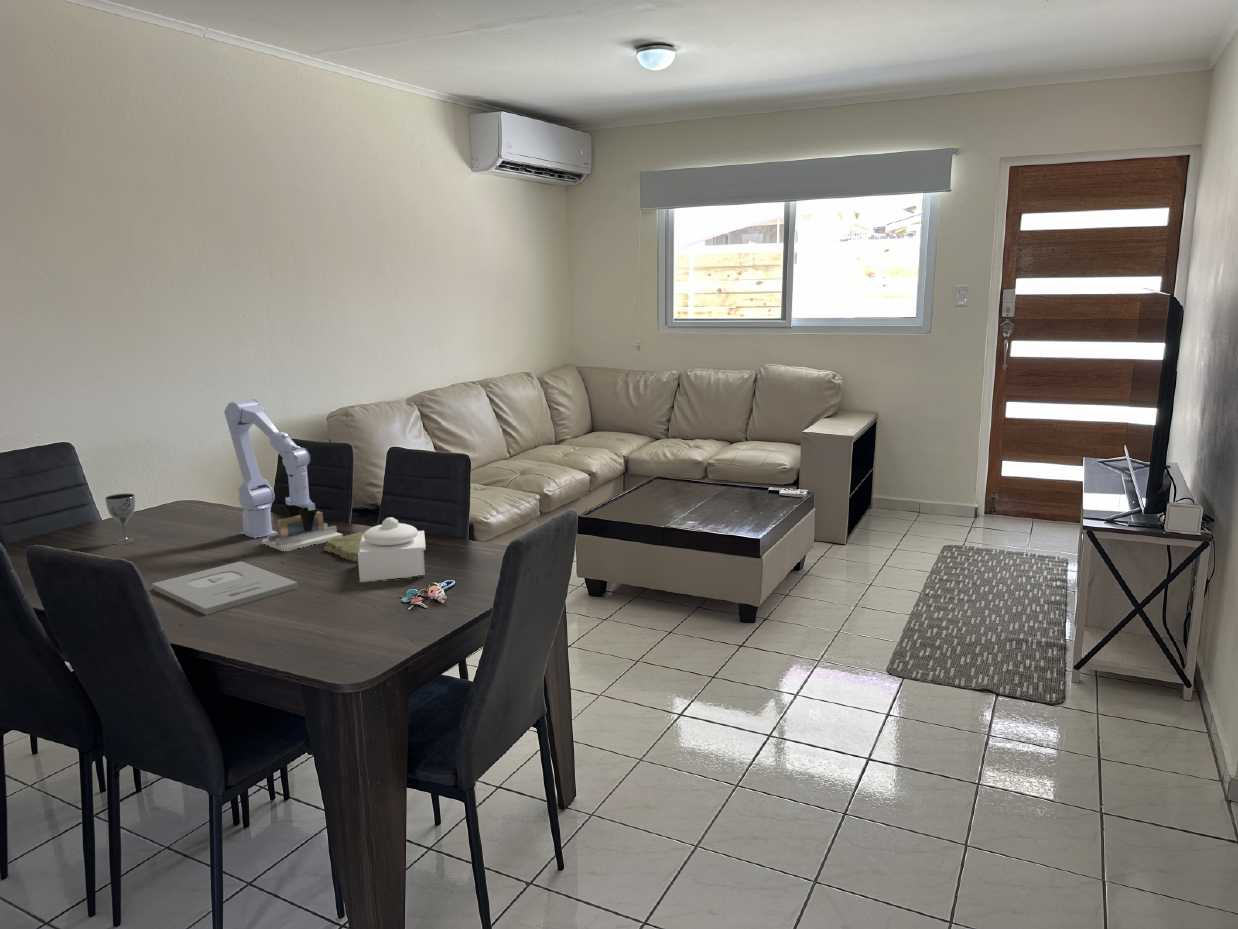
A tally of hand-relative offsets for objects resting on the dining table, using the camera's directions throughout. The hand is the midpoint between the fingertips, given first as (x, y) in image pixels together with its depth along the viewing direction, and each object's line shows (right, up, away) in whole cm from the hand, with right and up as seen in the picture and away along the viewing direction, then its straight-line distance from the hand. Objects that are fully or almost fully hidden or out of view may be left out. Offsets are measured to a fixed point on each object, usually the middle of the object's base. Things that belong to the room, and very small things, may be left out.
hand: (302, 528), depth 269 cm
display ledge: (0, -4, +1) cm, 4 cm away
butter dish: (+37, -10, -28) cm, 48 cm away
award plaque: (-4, -13, -43) cm, 45 cm away
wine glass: (-57, -5, +1) cm, 57 cm away
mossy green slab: (+23, -7, -9) cm, 25 cm away
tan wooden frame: (0, -3, 0) cm, 3 cm away
